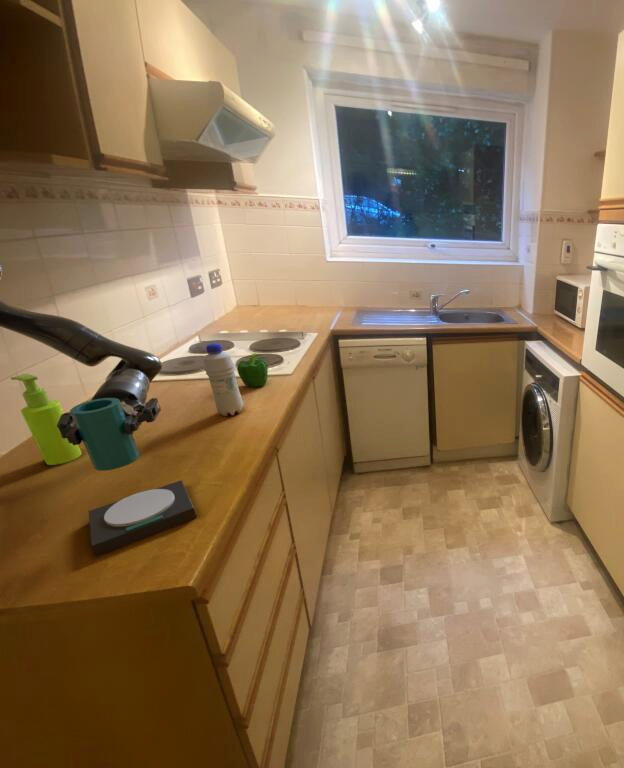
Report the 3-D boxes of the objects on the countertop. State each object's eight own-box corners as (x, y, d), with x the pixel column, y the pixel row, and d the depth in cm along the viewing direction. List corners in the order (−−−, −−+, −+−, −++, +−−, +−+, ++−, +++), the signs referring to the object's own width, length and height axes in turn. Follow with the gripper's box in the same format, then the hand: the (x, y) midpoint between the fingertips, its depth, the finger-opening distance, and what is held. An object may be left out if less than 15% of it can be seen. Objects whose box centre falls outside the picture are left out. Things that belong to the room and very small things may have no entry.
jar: (95, 475, 73) (70, 417, 69) (93, 460, 77) (69, 404, 73) (141, 461, 77) (120, 405, 73) (137, 447, 81) (117, 394, 77)
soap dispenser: (68, 448, 102) (32, 369, 95) (87, 453, 100) (53, 373, 93) (36, 461, 97) (-4, 379, 89) (56, 467, 95) (17, 383, 87)
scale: (96, 556, 71) (90, 543, 70) (92, 520, 79) (87, 508, 78) (197, 517, 80) (192, 505, 79) (184, 488, 88) (180, 477, 87)
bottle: (211, 417, 118) (191, 347, 110) (229, 406, 124) (211, 339, 116) (234, 418, 117) (215, 348, 109) (251, 408, 123) (234, 340, 115)
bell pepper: (249, 392, 133) (241, 361, 130) (237, 385, 138) (229, 356, 134) (276, 383, 140) (270, 354, 136) (264, 378, 144) (257, 349, 140)
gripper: (171, 407, 91) (161, 443, 78) (79, 423, 84) (52, 465, 71) (160, 374, 88) (147, 405, 75) (64, 388, 81) (32, 425, 68)
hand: (101, 434), depth 73 cm, fingers closed on jar, 6 cm apart
